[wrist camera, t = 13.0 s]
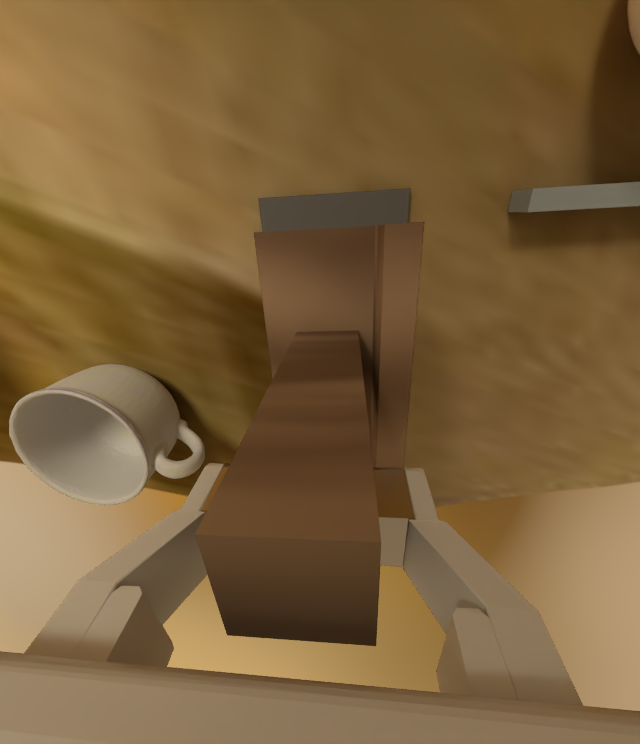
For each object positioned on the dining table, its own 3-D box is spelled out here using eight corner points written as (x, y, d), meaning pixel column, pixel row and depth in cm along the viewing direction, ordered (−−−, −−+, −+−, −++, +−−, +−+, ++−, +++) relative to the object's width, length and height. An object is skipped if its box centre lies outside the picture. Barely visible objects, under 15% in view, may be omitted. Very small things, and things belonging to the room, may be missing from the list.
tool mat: (259, 198, 21) (258, 198, 21) (409, 188, 20) (410, 188, 20) (284, 396, 28) (283, 398, 28) (394, 396, 27) (395, 398, 27)
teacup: (83, 418, 32) (6, 477, 25) (88, 329, 27) (-5, 370, 20) (210, 465, 33) (174, 533, 26) (238, 389, 28) (201, 448, 21)
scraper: (259, 232, 14) (-36, 237, 3) (401, 224, 13) (623, 198, 3) (285, 442, 19) (203, 722, 8) (388, 443, 18) (447, 746, 8)
